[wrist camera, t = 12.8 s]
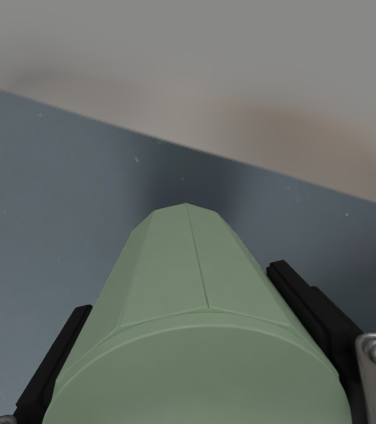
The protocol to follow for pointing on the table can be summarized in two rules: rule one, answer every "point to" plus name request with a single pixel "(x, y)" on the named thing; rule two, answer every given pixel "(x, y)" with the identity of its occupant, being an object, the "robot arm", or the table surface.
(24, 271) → the table surface
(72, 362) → the sage cup
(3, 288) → the table surface
